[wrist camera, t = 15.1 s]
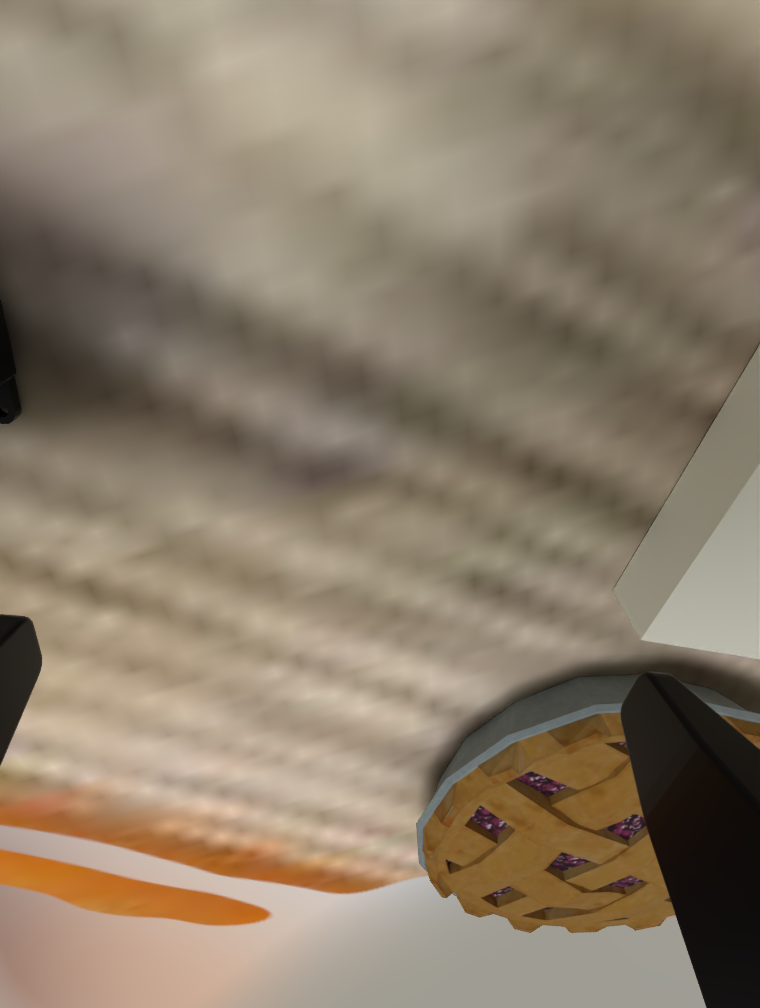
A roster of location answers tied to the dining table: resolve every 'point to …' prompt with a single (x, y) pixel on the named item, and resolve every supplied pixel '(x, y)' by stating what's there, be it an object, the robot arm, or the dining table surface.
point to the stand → (706, 541)
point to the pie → (553, 813)
